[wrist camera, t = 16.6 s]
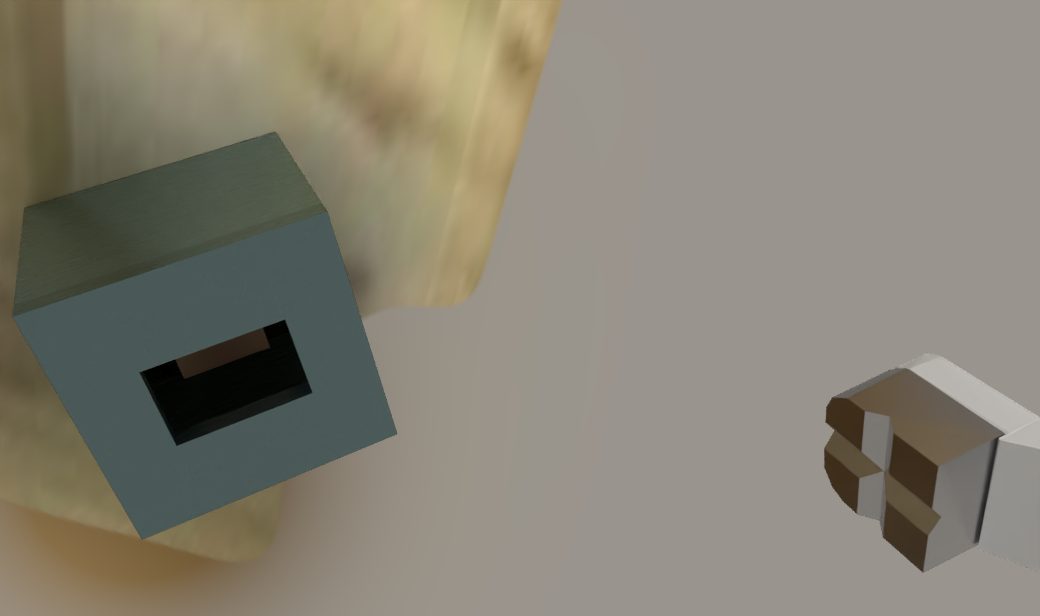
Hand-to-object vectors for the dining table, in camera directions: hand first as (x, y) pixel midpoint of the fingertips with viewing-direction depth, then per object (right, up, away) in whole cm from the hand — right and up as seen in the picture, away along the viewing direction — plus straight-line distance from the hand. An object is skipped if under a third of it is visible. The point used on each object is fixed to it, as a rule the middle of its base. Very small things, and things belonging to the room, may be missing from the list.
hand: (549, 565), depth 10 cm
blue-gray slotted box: (-17, +5, +35) cm, 39 cm away
